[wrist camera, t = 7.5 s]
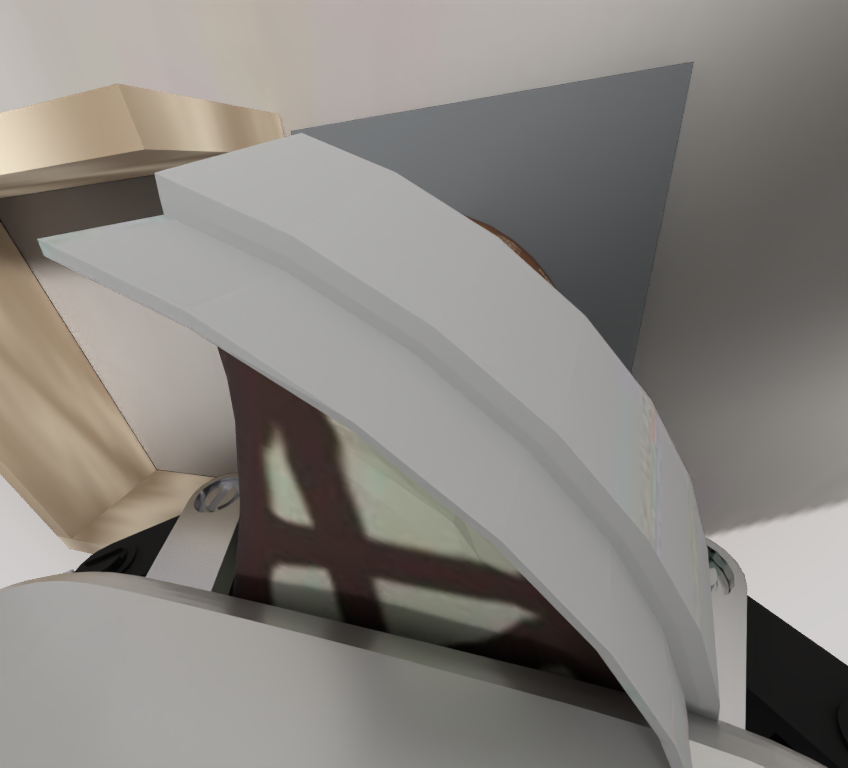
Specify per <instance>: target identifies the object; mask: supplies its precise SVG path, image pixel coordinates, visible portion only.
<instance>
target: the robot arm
mask: <svg viewBox="0 0 848 768" xmlns="http://www.w3.org/2000/svg"><path fill="white" fill-rule="evenodd" d="M239 510H240V497H239V479H238V473H229V474H225V475H221V476H219V477H216V478H214V479H212V480H210V481H208V482H207V483H205V484H204V485H202V486H201V487H200V488H199V489H198V490H196V491H195V492H194V494H193V495H192V496H191V498H190V499H189V501H188V502H187V504H186V506H185V508H184V509H183V511H182V513H181V515H178V516H176V517H174V518H171V519H169V520H167V521H164V522H162V523H159V524H157V525H155V526H152V527H150V528H148V529H145V530H143V531H140V532H138V533H136V534H133V535H131V536H128V537H126V538H124V539H121V540H119V541H117V542H114V543H112V544H110V545H108V546H106V547H104V548H102V549H100V550H98V551H97V552H95V553H94V554H93V555H91V556H90V557H89V558H88V559H87V560H86V561H85V562H83V563H82V564H81V565H80V566H79V568H78V569H77V570H76V571H74V570H70V571H68V572H65V573H63V574H58V575H53V576H47V577H42V578H37V579H32V580H28V581H24V582H20V583H17V584H14V585H11V586H8V587H5V588H2V589H0V768H671V767H670V764H669V762H668V759H667V757H666V754H665V752H664V749H663V747H662V744H661V742H660V739H659V737H658V736H657V734H656V733H655V732H654V730H653V729H652V727H651V726H650V725H649V723H648V722H647V720H646V719H645V718H644V716H643V715H642V713H641V712H640V711H639V709H638V708H637V706H636V705H635V704H634V702H633V701H632V699H631V698H630V697H629V695H628V694H627V693H625V692H621V691H618V690H614V689H610V688H606V687H602V686H599V685H595V684H591V683H587V682H583V681H579V680H576V679H572V678H568V677H564V676H560V675H557V674H553V673H549V672H544V671H540V670H536V669H532V668H528V667H524V666H520V665H516V664H512V663H508V662H504V661H499V660H495V659H491V658H487V657H483V656H479V655H475V654H471V653H467V652H463V651H459V650H454V649H450V648H446V647H442V646H438V645H434V644H430V643H426V642H422V641H418V640H413V639H409V638H405V637H401V636H397V635H393V634H388V633H384V632H380V631H376V630H372V629H368V628H363V627H359V626H355V625H351V624H347V623H343V622H338V621H334V620H330V619H326V618H322V617H317V616H313V615H309V614H305V613H301V612H296V611H292V610H288V609H284V608H279V607H275V606H271V605H267V604H262V603H258V602H254V601H249V600H245V599H241V598H236V597H233V586H234V575H235V564H236V553H237V542H238V531H239ZM705 540H706V544H707V548H708V561H709V573H710V586H711V598H712V610H713V623H714V635H715V648H716V660H717V673H718V685H719V698H720V710H719V719H718V721H715V720H712V719H709V718H706V717H703V716H699V715H696V714H693V713H691V712H688V711H687V717H688V725H689V745H690V752H691V760H692V767H693V768H848V666H847V665H846V664H844V663H843V662H841V661H840V660H839V659H837V658H836V657H835V656H833V655H832V654H830V653H829V652H827V651H826V650H825V649H823V648H822V647H820V646H819V645H817V644H816V643H815V642H813V641H812V640H810V639H809V638H807V637H806V636H805V635H803V634H802V633H800V632H799V631H798V630H796V629H794V628H793V627H792V626H790V625H789V624H787V623H786V622H785V621H783V620H782V619H780V618H779V617H778V616H776V615H775V614H773V613H772V612H770V611H769V610H768V609H766V608H765V607H763V606H762V605H760V604H759V603H758V602H756V601H755V600H753V599H752V598H750V597H749V596H748V595H747V585H746V580H745V575H744V573H743V572H742V570H741V568H740V567H739V565H738V563H737V562H736V561H735V560H734V559H733V558H732V557H731V556H730V555H729V554H728V553H727V552H726V551H725V550H724V549H723V548H721V547H720V546H719V545H717V544H716V543H714V542H713V541H711V540H709V539H707V538H705Z"/></svg>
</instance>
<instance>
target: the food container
mask: <svg viewBox="0 0 848 768" xmlns="http://www.w3.org/2000/svg"><path fill="white" fill-rule="evenodd" d="M154 174H155V179H156V183H157V188H158V192H159V197H160V201H161V205H162V209H163V213H164V215H159V216H154V217H149V218H144V219H138V220H133V221H128V222H123V223H117V224H112V225H107V226H102V227H96V228H91V229H86V230H81V231H76V232H70V233H65V234H60V235H55V236H49V237H44V238H39V239H37V241H38V243H39V245H40V248H41V250H42V252H43V255H44V256H45V257H47V258H49V259H51V260H53V261H55V262H57V263H59V264H61V265H63V266H65V267H67V268H69V269H71V270H73V271H75V272H77V273H79V274H81V275H83V276H85V277H87V278H89V279H91V280H93V281H95V282H97V283H99V284H101V285H103V286H105V287H107V288H109V289H111V290H113V291H115V292H117V293H119V294H121V295H123V296H125V297H127V298H129V299H131V300H133V301H135V302H137V303H139V304H141V305H143V306H145V307H147V308H149V309H151V310H153V311H155V312H157V313H159V314H161V315H163V316H165V317H167V318H169V319H171V320H173V321H175V322H177V323H179V324H181V325H183V326H185V327H187V328H189V329H191V330H193V331H194V332H196V333H197V334H199V335H200V336H202V337H204V338H205V339H207V340H208V341H210V342H212V343H213V344H215V345H216V346H218V350H219V354H220V357H221V360H222V363H223V366H224V370H225V373H226V376H227V380H228V385H229V390H230V396H231V401H232V406H233V411H234V417H235V425H236V443H237V461H238V479H239V497H240V510H239V531H238V542H237V553H236V564H235V575H234V586H233V597H236V598H241V599H245V600H249V601H254V602H258V603H262V604H267V605H271V606H275V607H279V608H284V609H288V610H292V611H296V612H301V613H305V614H309V615H313V616H317V617H322V618H326V619H330V620H334V621H338V622H343V623H347V624H351V625H355V626H359V627H363V628H368V629H372V630H376V631H380V632H384V633H388V634H393V635H397V636H401V637H405V638H409V639H413V640H418V641H422V642H426V643H430V644H434V645H438V646H442V647H446V648H450V649H454V650H459V651H463V652H467V653H471V654H475V655H479V656H483V657H487V658H491V659H495V660H499V661H504V662H508V663H512V664H516V665H520V666H524V667H528V668H532V669H536V670H540V671H544V672H549V673H553V674H557V675H560V676H564V677H568V678H572V679H576V680H579V681H583V682H587V683H591V684H595V685H599V686H602V687H606V688H610V689H614V690H618V691H621V692H625V693H627V694H628V695H629V697H630V698H631V699H632V701H633V702H634V704H635V705H636V706H637V708H638V709H639V711H640V712H641V713H642V715H643V716H644V718H645V719H646V720H647V722H648V723H649V725H650V726H651V727H652V729H653V730H654V732H655V733H656V734H657V736H658V737H659V739H660V742H661V744H662V747H663V749H664V752H665V754H666V757H667V759H668V762H669V764H670V767H671V768H693V767H692V760H691V752H690V745H689V725H688V717H687V711H688V712H691V713H693V714H696V715H699V716H703V717H706V718H709V719H712V720H715V721H718V719H719V710H720V698H719V685H718V673H717V660H716V648H715V635H714V623H713V610H712V598H711V586H710V573H709V561H708V548H707V544H706V540H705V536H704V532H703V527H702V523H701V519H700V515H699V511H698V506H697V502H696V498H695V494H694V490H693V485H692V481H691V478H690V476H689V474H688V472H687V470H686V468H685V466H684V464H683V462H682V460H681V458H680V456H679V454H678V452H677V450H676V448H675V446H674V444H673V442H672V440H671V438H670V436H669V434H668V432H667V430H666V428H665V426H664V424H663V422H662V420H661V418H660V416H659V414H658V413H657V411H656V409H655V407H654V405H653V403H652V401H651V399H650V398H649V396H648V395H647V394H646V393H645V391H644V390H643V389H642V387H641V386H640V385H639V384H638V382H637V381H636V380H635V379H634V377H633V376H632V375H631V373H630V372H629V371H628V370H627V368H626V367H625V366H624V364H623V363H622V362H621V361H620V359H619V358H618V357H617V355H616V354H615V353H614V352H613V350H612V349H611V348H610V347H609V345H608V344H607V343H606V341H605V340H604V339H603V338H602V336H601V335H600V334H599V332H598V331H597V330H596V329H595V327H594V326H593V325H592V323H591V322H590V321H589V320H588V318H587V317H586V316H585V315H584V314H583V313H582V312H581V311H579V310H578V309H577V308H576V307H575V306H574V305H573V304H572V303H571V302H569V301H568V300H567V299H566V298H565V297H564V296H563V295H562V294H561V293H559V292H558V291H557V289H556V288H555V286H554V284H553V282H552V280H551V279H550V277H549V276H548V275H547V274H546V272H545V271H544V270H543V269H542V267H541V266H540V265H539V264H538V262H537V261H536V260H535V259H534V258H533V257H532V256H531V255H530V254H529V253H528V252H527V251H526V250H524V249H523V248H522V247H521V246H520V245H519V244H518V243H517V242H515V241H514V240H513V239H511V238H510V237H508V236H507V235H505V234H503V233H502V232H500V231H499V230H497V229H495V228H494V227H492V226H491V225H488V224H486V223H483V222H481V221H478V220H476V219H474V218H471V217H469V216H466V215H464V214H461V213H459V212H457V211H456V210H454V209H453V208H451V207H450V206H448V205H446V204H445V203H443V202H442V201H440V200H439V199H437V198H435V197H434V196H432V195H431V194H429V193H428V192H426V191H424V190H423V189H421V188H420V187H418V186H417V185H415V184H413V183H412V182H410V181H409V180H407V179H405V178H404V177H402V176H401V175H399V174H398V173H396V172H394V171H391V170H389V169H387V168H384V167H382V166H379V165H377V164H375V163H372V162H370V161H368V160H365V159H363V158H360V157H358V156H356V155H353V154H351V153H349V152H346V151H344V150H341V149H339V148H337V147H334V146H332V145H329V144H327V143H325V142H322V141H320V140H318V139H315V138H313V137H310V136H308V135H306V134H303V133H299V134H295V135H291V136H288V137H284V138H280V139H277V140H273V141H269V142H265V143H262V144H258V145H254V146H251V147H247V148H243V149H240V150H236V151H232V152H229V153H225V154H221V155H218V156H214V157H210V158H207V159H203V160H199V161H196V162H192V163H188V164H184V165H181V166H177V167H173V168H170V169H166V170H162V171H159V172H155V173H154Z"/></svg>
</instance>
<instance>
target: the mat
mask: <svg viewBox="0 0 848 768" xmlns="http://www.w3.org/2000/svg"><path fill="white" fill-rule="evenodd" d="M693 63H694V62H689V63H683V64H677V65H671V66H666V67H660V68H654V69H648V70H642V71H637V72H631V73H625V74H619V75H613V76H608V77H602V78H596V79H590V80H584V81H579V82H573V83H567V84H561V85H555V86H550V87H544V88H538V89H532V90H526V91H520V92H515V93H509V94H503V95H497V96H491V97H486V98H480V99H474V100H468V101H462V102H457V103H451V104H445V105H439V106H433V107H428V108H422V109H416V110H410V111H404V112H399V113H393V114H387V115H381V116H375V117H370V118H364V119H358V120H352V121H346V122H340V123H335V124H329V125H323V126H317V127H311V128H306V129H300V130H294V131H291V135H295V134H299V133H303V134H306V135H308V136H310V137H313V138H315V139H318V140H320V141H322V142H325V143H327V144H329V145H332V146H334V147H337V148H339V149H341V150H344V151H346V152H349V153H351V154H353V155H356V156H358V157H360V158H363V159H365V160H368V161H370V162H372V163H375V164H377V165H379V166H382V167H384V168H387V169H389V170H391V171H394V172H396V173H398V174H399V175H401V176H402V177H404V178H405V179H407V180H409V181H410V182H412V183H413V184H415V185H417V186H418V187H420V188H421V189H423V190H424V191H426V192H428V193H429V194H431V195H432V196H434V197H435V198H437V199H439V200H440V201H442V202H443V203H445V204H446V205H448V206H450V207H451V208H453V209H454V210H456V211H457V212H459V213H461V214H464V215H466V216H469V217H471V218H474V219H476V220H478V221H481V222H483V223H486V224H488V225H491V226H492V227H494V228H495V229H497V230H499V231H500V232H502V233H503V234H505V235H507V236H508V237H510V238H511V239H513V240H514V241H515V242H517V243H518V244H519V245H520V246H521V247H522V248H523V249H524V250H526V251H527V252H528V253H529V254H530V255H531V256H532V257H533V258H534V259H535V260H536V261H537V262H538V264H539V265H540V266H541V267H542V269H543V270H544V271H545V272H546V274H547V275H548V276H549V277H550V279H551V280H552V282H553V284H554V286H555V288H556V289H557V291H558V292H559V293H561V294H562V295H563V296H564V297H565V298H566V299H567V300H568V301H569V302H571V303H572V304H573V305H574V306H575V307H576V308H577V309H578V310H579V311H581V312H582V313H583V314H584V315H585V316H586V317H587V318H588V320H589V321H590V322H591V323H592V325H593V326H594V327H595V329H596V330H597V331H598V332H599V334H600V335H601V336H602V338H603V339H604V340H605V341H606V343H607V344H608V345H609V347H610V348H611V349H612V350H613V352H614V353H615V354H616V355H617V357H618V358H619V359H620V361H621V362H622V363H623V364H624V366H625V367H626V368H627V370H628V371H629V372H630V373H631V370H632V365H633V360H634V355H635V350H636V345H637V340H638V335H639V330H640V325H641V320H642V315H643V310H644V305H645V300H646V295H647V290H648V286H649V281H650V276H651V271H652V266H653V261H654V256H655V251H656V246H657V241H658V236H659V231H660V226H661V221H662V216H663V211H664V206H665V202H666V197H667V192H668V187H669V182H670V177H671V172H672V167H673V162H674V157H675V152H676V147H677V142H678V137H679V132H680V127H681V122H682V118H683V113H684V108H685V103H686V98H687V93H688V88H689V83H690V78H691V73H692V68H693Z"/></svg>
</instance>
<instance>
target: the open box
mask: <svg viewBox="0 0 848 768" xmlns="http://www.w3.org/2000/svg"><path fill="white" fill-rule="evenodd" d="M280 138H284V134H283V130H282V126H281V122H280V118H279V114H276V113H270V112H265V111H260V110H254V109H249V108H244V107H239V106H233V105H228V104H223V103H217V102H212V101H207V100H201V99H196V98H191V97H185V96H180V95H175V94H169V93H164V92H159V91H153V90H148V89H143V88H138V87H132V86H127V85H122V84H115V85H111V86H107V87H103V88H99V89H95V90H91V91H87V92H83V93H79V94H75V95H71V96H67V97H63V98H59V99H55V100H51V101H47V102H43V103H39V104H35V105H31V106H27V107H23V108H19V109H15V110H11V111H7V112H3V113H0V198H4V197H11V196H17V195H24V194H30V193H37V192H43V191H50V190H56V189H63V188H70V187H76V186H83V185H89V184H96V183H102V182H109V181H115V180H122V179H128V178H135V177H141V176H148V175H155V174H154V173H155V172H159V171H162V170H166V169H170V168H173V167H177V166H181V165H184V164H188V163H192V162H196V161H199V160H203V159H207V158H210V157H214V156H218V155H221V154H225V153H229V152H232V151H236V150H240V149H243V148H247V147H251V146H254V145H258V144H262V143H265V142H269V141H273V140H277V139H280ZM0 474H1V475H2V476H3V477H4V478H5V479H6V480H7V482H8V483H9V484H10V485H11V486H12V487H13V488H14V489H15V490H16V491H17V492H18V493H19V494H20V496H21V497H22V498H23V499H24V500H25V501H26V502H27V503H28V504H29V505H30V507H31V508H32V509H33V510H34V511H35V512H36V513H37V514H38V515H39V516H40V517H41V518H42V520H43V521H44V522H45V523H46V524H47V525H48V526H49V527H50V528H51V529H52V530H53V532H54V533H55V534H56V535H57V536H58V537H59V538H60V539H61V540H62V541H63V542H64V544H65V545H66V546H67V547H68V548H69V549H73V550H78V551H82V552H86V553H91V554H94V553H95V552H97V551H98V550H100V549H102V548H104V547H106V546H108V545H110V544H112V543H114V542H117V541H119V540H121V539H124V538H126V537H128V536H131V535H133V534H136V533H138V532H140V531H143V530H145V529H148V528H150V527H152V526H155V525H157V524H159V523H162V522H164V521H167V520H169V519H171V518H174V517H176V516H178V515H181V513H182V511H183V509H184V508H185V506H186V504H187V502H188V501H189V499H190V498H191V496H192V495H193V494H194V492H195V491H196V490H198V489H199V488H200V487H201V486H202V485H204V484H205V483H207V482H208V481H210V480H212V479H214V477H207V476H199V475H192V474H184V473H176V472H169V471H161V470H156V469H155V467H154V465H153V464H152V462H151V461H150V459H149V457H148V456H147V454H146V453H145V451H144V449H143V448H142V446H141V445H140V443H139V441H138V440H137V438H136V437H135V435H134V434H133V432H132V430H131V429H130V427H129V426H128V424H127V422H126V421H125V419H124V418H123V416H122V414H121V413H120V411H119V410H118V408H117V406H116V405H115V403H114V402H113V400H112V399H111V397H110V395H109V394H108V392H107V391H106V389H105V387H104V386H103V384H102V383H101V381H100V379H99V378H98V376H97V375H96V373H95V371H94V370H93V368H92V367H91V365H90V364H89V362H88V360H87V359H86V357H85V356H84V354H83V352H82V351H81V349H80V348H79V346H78V344H77V343H76V341H75V340H74V338H73V336H72V335H71V333H70V332H69V330H68V329H67V327H66V325H65V324H64V322H63V321H62V319H61V317H60V316H59V314H58V313H57V311H56V309H55V308H54V306H53V305H52V303H51V301H50V300H49V298H48V297H47V295H46V294H45V292H44V290H43V289H42V287H41V286H40V284H39V282H38V281H37V279H36V278H35V276H34V274H33V273H32V271H31V270H30V268H29V266H28V265H27V263H26V262H25V260H24V259H23V257H22V255H21V254H20V252H19V251H18V249H17V247H16V246H15V244H14V243H13V241H12V239H11V238H10V236H9V235H8V233H7V231H6V230H5V228H4V227H3V225H2V224H1V222H0Z"/></svg>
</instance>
